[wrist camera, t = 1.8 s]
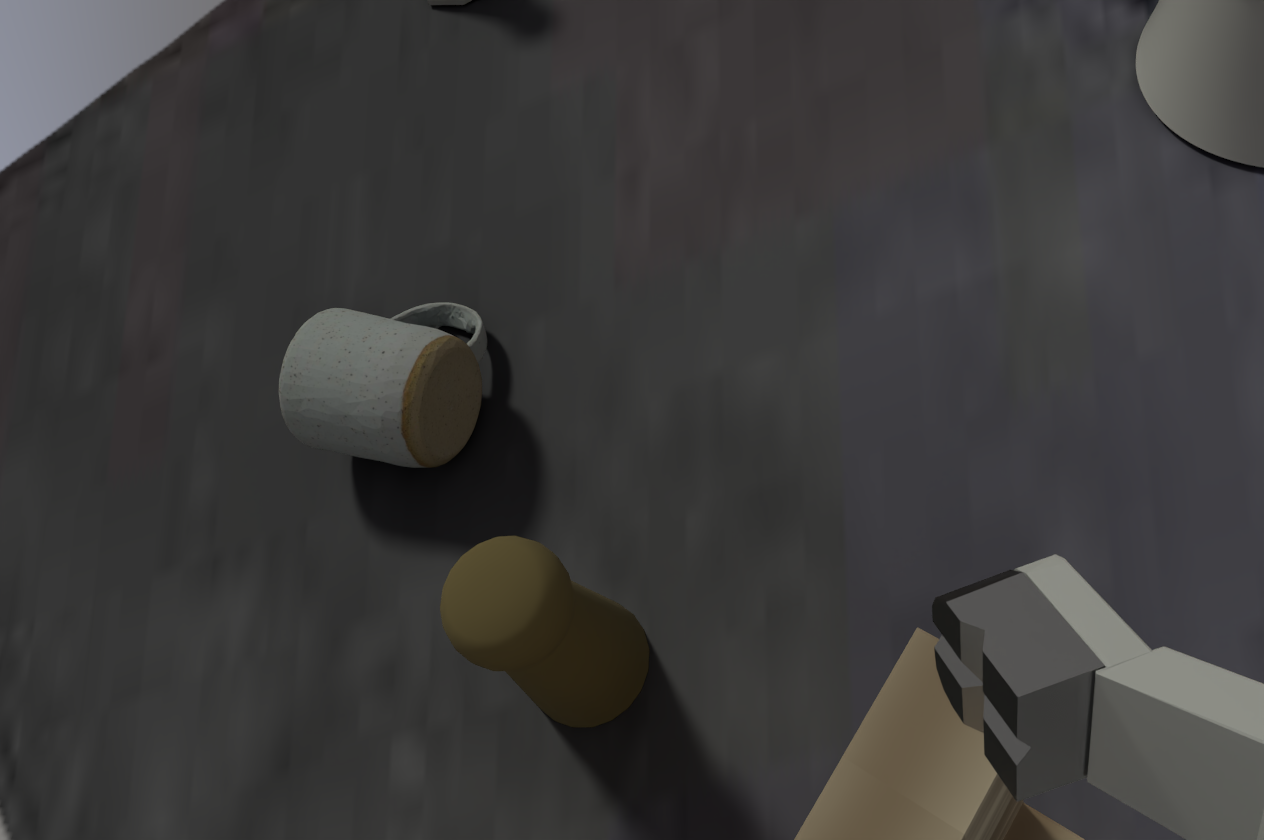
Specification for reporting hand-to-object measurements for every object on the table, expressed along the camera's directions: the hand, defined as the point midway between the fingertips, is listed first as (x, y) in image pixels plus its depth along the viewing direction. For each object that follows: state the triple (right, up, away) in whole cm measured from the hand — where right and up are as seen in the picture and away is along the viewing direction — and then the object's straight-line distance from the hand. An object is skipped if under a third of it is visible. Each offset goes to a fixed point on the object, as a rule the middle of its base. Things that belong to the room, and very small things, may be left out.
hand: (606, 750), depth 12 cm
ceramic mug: (-11, +5, +46) cm, 48 cm away
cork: (-2, -8, +37) cm, 37 cm away
